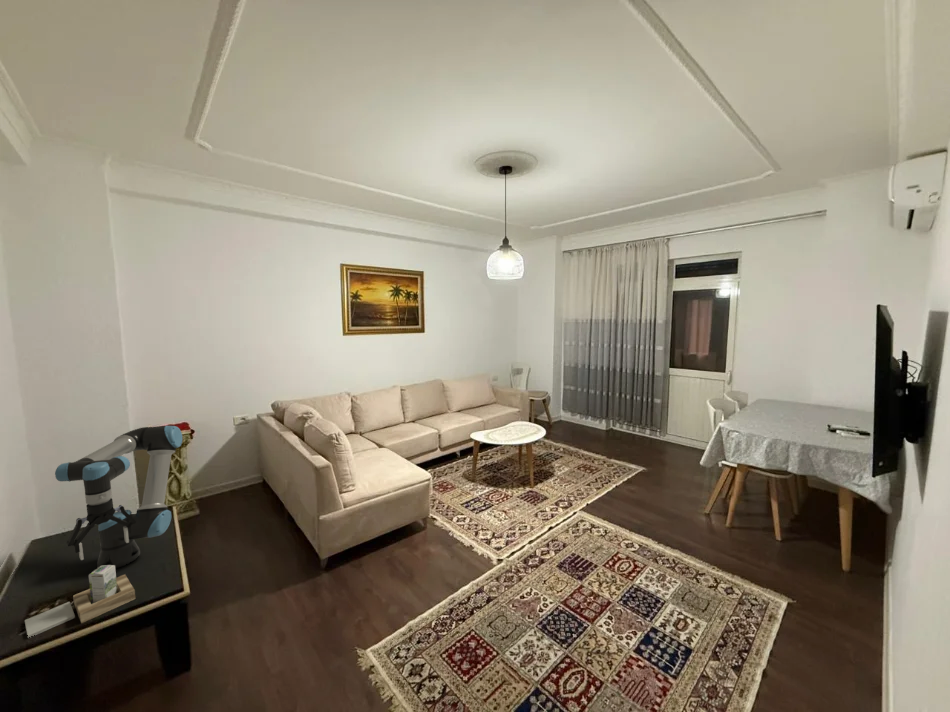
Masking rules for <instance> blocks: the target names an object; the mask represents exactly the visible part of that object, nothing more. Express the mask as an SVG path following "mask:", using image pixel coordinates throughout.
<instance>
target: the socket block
mask: <svg viewBox="0 0 950 712" xmlns="http://www.w3.org/2000/svg"><path fill="white" fill-rule="evenodd" d="M116 582H117V593H116V594H114V595H112V596H109V597H107V598H105V599H102V600H100V601H98V602H96V603H93V604H91V595H90V588H88V589H86V590H83V591H81V592H79V593H76V594H74V595H73V596H72V598H73V599H72V600H73V605H74V607H75V611H76V613H77V616H78V619H79V621H80V624H83V623H86V622H87V621H90V620H92V619H94V618H97V617H99V616H101V615H103V614H105V613H108V612H110V611H113V610H114V609H117V608H119V607H121V606H123V605H125V604H127V603H129V602H131V601H134V600H135V599H136V590H135V588H134V586H133V585H132V584H131V582H130V580H129V578H128V577H127V575H126V574H121V575H120V576H118V577H117V576H116Z"/></svg>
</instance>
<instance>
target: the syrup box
mask: <svg viewBox="0 0 950 712" xmlns="http://www.w3.org/2000/svg"><path fill="white" fill-rule="evenodd" d="M116 571H117V570H116V568H115V565H103V566H100V567H99V568H98V567H97V568H96V569H94V570H93V571H91V573H89V574H88V582H89V585H88V586H89V589H90V595H91V602H90V603H91V604H93V603H96V602H98V601H100V600H102V599H105V598H107V597H109V596H112V595H114V594H116V593H118V591H117V582H116V578H117V573H116Z"/></svg>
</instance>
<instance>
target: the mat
mask: <svg viewBox="0 0 950 712" xmlns="http://www.w3.org/2000/svg"><path fill="white" fill-rule="evenodd" d="M73 619H76V615H75V613H74V610H73V608H72V604H71V602H70V601H67V602H65V603H63V604H59V605H57V606H55V607H53V608H51V609H48V610H46V611H44V612H41V613H38V614H37V615H36V614H35V615H34V616H31V617H30V618H27V619H25V620H24V624H25V629H26V635H28V636H27V638H28V639H30V638H32V637H31V636H33V637H35V636H36V635H39V634H41V633H44V632H46V631H48V630H50V629H53V628H54V627H57V626H60V625H62V624H64V623H66V622H68V621H71V620H73ZM34 635H35V636H34ZM29 637H30V638H29Z"/></svg>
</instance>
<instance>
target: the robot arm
mask: <svg viewBox="0 0 950 712" xmlns="http://www.w3.org/2000/svg"><path fill="white" fill-rule="evenodd" d="M182 444H183V433H182V431H181V429H180V428H179V427H178V426H175V425H162V426H161V425H160V426H145V427H139V428H136V429H135V428H134V429H133V430H130V431H128V432H126V433H122V434H121V435H118V436H117V437H116V438H115V439H113V441H112V442H110V443H108V444H106V445H105V446H103V447H101V448H98V449H97V450H95V451H93V452H91V453H89V454H88V455H86V456H84V457H81V458H80V459H78V460H76V461H73V462H70V461H69V462H64V463H61V464H60V465H59V464H58V466H57V468H56V469H55V471H54V475H55V479H56V480H57V481H58V482H75V481H82V482H83V486H84V497H85V504H86V513H87V514H86V517H82V518H80V517H78V518H76V520H75V523H76V524H75V526H74V527H73V529H72V532H70V535H69V538H68V539H67V540H66V545H67V546H68V547H72V546H73V549H74V552H75V553H76V554H78V555H79V556H78V557H79V559H80V561H83V560H85V558H84V548H83V543H82V541H83V540H84V539H85V537H87V535H88V534H89V532H90V531H91V530H92V529H93V528H94V527H95V526H98V530H97V531H98V535H99V545H100V552H99V555H98V559H97V562H96V564H97V568H99V567H100V566H103V565H115V569H119V568H122V567H124V566H127V565H128V564H131V563H133V562H134V561H135V560H137V559H138V558H139V557H140V555H141V550H140V547H139V546H138V544H137V542H136V541H135V540H138V539H139V540H140V539H147V538H149V539H150V538H154V537H159V536H162V535H163V534H165V532H166V531H167V530H168V528H169V526H170V524H171V520H172V511H171V510H169V509H168V506H167V505H166V503H165V499H166V493H167V487H168V480H169V479H168V478H169V473H170V466H171V459H172V455H173V454H175V453H176V451H177V449H178V448H180V447H181V446H182ZM136 451H146V453H147V454H148V455H149V461H148V465H147V466H148V468H147V471H146V472H147V473H146V479H145V485H144V489H143V496H142V503H141V505H140V507H138V508H137V509H136V513H132V510H130V509H125V506H124V505H122V504H120V505H119V506H117V507H115V508H114V504H113V503H114V502H113V495H112V485H111V484H112V483H111V482H112V480H114V479H116V478H117V477H119V476H120V475H122V474H124V473H125V472H126V471H127V470H128V469H129V468H130V465H131V462H130V460H129V458H127V457H126V456H124V454H125V455H126V454H131V453H132V452H136ZM85 522H87V524H86V526H85V527H84V528H82V527H83V525H84V523H85ZM81 528H82V529H83V530H82V531H81V532H80V530H81ZM79 532H80V533H79ZM138 556H139V557H138ZM137 557H138V558H137ZM136 558H137V559H136ZM130 562H131V563H130ZM126 564H127V565H126Z"/></svg>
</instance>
